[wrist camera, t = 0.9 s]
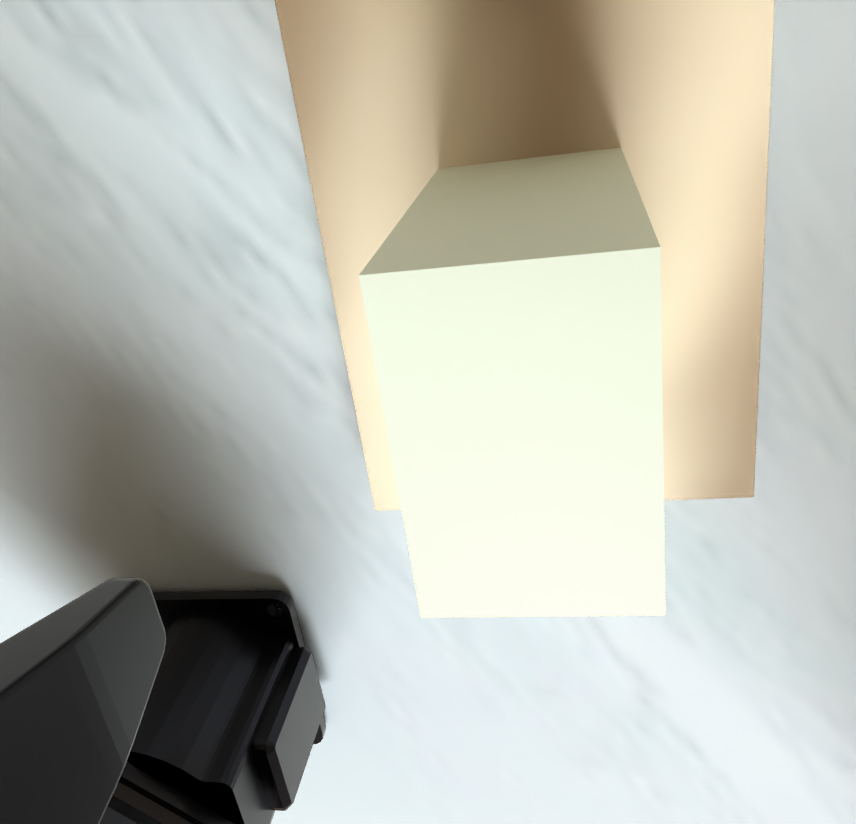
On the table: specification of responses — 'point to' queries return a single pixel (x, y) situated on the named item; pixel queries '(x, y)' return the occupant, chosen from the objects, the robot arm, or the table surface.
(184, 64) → the table surface
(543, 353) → the carton
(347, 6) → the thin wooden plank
